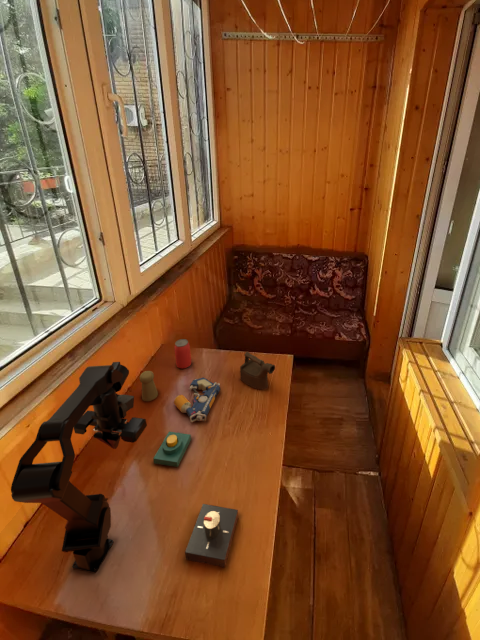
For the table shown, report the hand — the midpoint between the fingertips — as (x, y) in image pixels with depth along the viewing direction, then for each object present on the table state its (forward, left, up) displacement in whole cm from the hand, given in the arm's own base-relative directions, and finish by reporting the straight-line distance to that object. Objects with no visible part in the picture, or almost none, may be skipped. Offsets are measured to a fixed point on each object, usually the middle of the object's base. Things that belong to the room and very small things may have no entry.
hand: (115, 447), depth 90 cm
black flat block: (-10, -33, -13) cm, 37 cm away
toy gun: (+32, -10, -13) cm, 36 cm away
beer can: (+52, +5, -13) cm, 54 cm away
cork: (+32, +10, -13) cm, 36 cm away
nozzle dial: (-10, -33, -10) cm, 36 cm away
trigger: (+11, -11, -9) cm, 18 cm away
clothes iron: (+46, -31, -13) cm, 57 cm away
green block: (+11, -11, -13) cm, 20 cm away
